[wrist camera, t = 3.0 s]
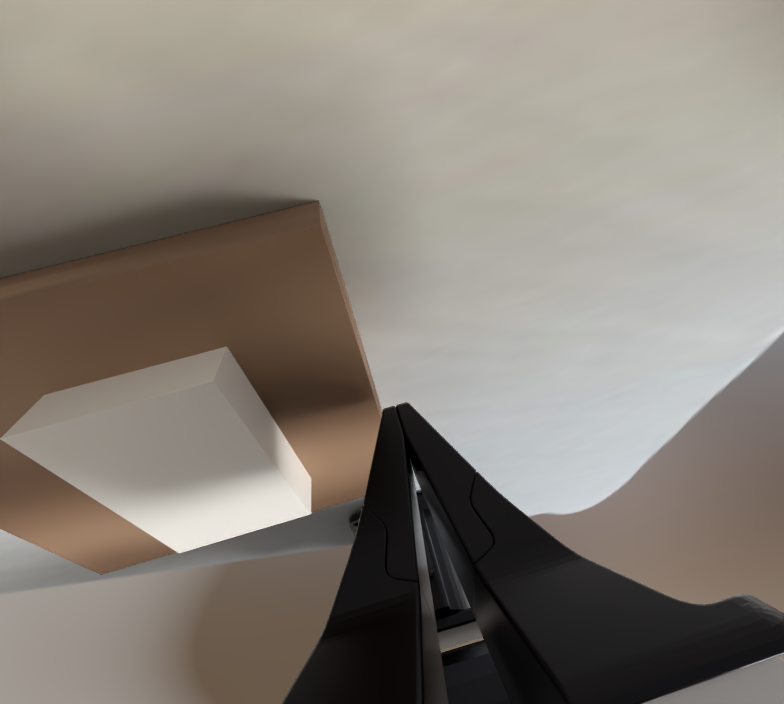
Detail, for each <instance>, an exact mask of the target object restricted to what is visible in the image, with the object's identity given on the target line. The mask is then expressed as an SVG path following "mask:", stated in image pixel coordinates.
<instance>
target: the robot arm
mask: <svg viewBox="0 0 784 704" xmlns="http://www.w3.org/2000/svg"><path fill="white" fill-rule="evenodd" d="M411 464H412V465H411ZM412 468H413V470H412ZM413 471H414V473H415V476H416V478H417V481H418V483H419V485H420V488H421V490H422V493H423V495H419V496H417V494H416V488H415V481H414V475H413ZM363 505H364V506H362V510H361V513H359V514H356V515H353V516H351V517H350V518H349V523H350V527H351V529H352V531H353V532H354V534H355V539H354V543H353V546H352V549H351V553H350V556H349V559H348V562H347V565H346V568H345V571H344V574H343V577H342V580H341V583H340V586H339V589H338V592H337V595H336V598H335V601H334V604H333V607H332V610H331V612H330V615H329V618H328V621H327V623H326V625H325V628H324V630H323V632H322V635H321V637H320V639H319V641H318V643H317V644H316V646H315V648H314V650H313V651H312V653H311V655H310V656H309V658H308V660H307V661H306V663H305V665H304V666H303V668H302V670H301V671H300V673H299V675H298V677H297V678H296V680H295V682H294V683H293V685H292V687H291V688H290V690H289V692H288V693H287V695H286V697H285V699H284V700H283V702H282V703H281V704H784V661H783V659H782V658H781V657H780V655H783V654H784V613H782V612H781V611H779V610H778V609H776V608H774V607H772V606H770V605H768V604H767V603H765V602H763V601H761V600H759V599H757V598H755V597H754V596H751V595H748V594H745V595H737V596H734V597H731V598H727V599H724V600H721V601H718V602H715V603H712V604H705V605H703V604H692V603H688V602H684V601H680V600H677V599H675V598H672V597H670V596H667V595H664V594H663V593H660V592H658V591H656V590H654V589H652V588H650V587H647V586H645V585H643V584H641V583H638V582H636V581H634V580H632V579H630V578H627V577H625V576H623V575H621V574H619V573H616V572H614V571H612V570H610V569H608V568H606V567H603V566H601V565H599V564H597V563H595V562H593V561H590V560H588V559H586V558H584V557H582V556H581V555H579V554H577V553H575V552H574V551H572V550H570V549H569V548H568V547H566V546H565V545H564V544H562V543H561V542H560V541H558V540H557V539H555V538H554V537H553V536H552V535H551V534H549V533H548V532H547V531H545V530H544V529H543V528H542V527H541V526H539V525H538V524H537V523H535V522H534V521H533V520H532V519H531V518H529V517H528V516H527V515H525V514H524V513H523V512H522V511H520V510H519V509H518V508H517V507H516V506H514V505H513V504H512V503H511V502H510V501H508V500H507V499H506V498H505V497H504V496H502V495H501V494H500V493H499V492H498V491H497V490H496V489H495V488H494V487H493V486H492V485H491V484H489V483H488V482H487V481H486V480H485V479H484V478H483V477H482V476H481V475H480V474H479V473H478V472H476V470H475V469H474V468H473V467H472V466H471V465H470V464H469V463H468V462H467V461H466V460H465V459H464V458H463V457H462V456H461V455H460V454H459V453H458V452H457V451H456V450H455V449H454V448H453V447H452V446H451V445H450V444H449V443H448V442H447V441H446V440H445V439H444V438H443V437H442V436H441V435H440V434H439V433H438V432H437V431H436V430H435V429H434V428H433V427H432V426H431V425H430V424H429V423H428V422H427V421H426V420H425V419H424V418H423V417H422V416H421V415H420V414H419V413H418V412H417V411H416V410H415V409H414V408H413V407H412V406H411V405H410V404H409V403H407V402H406V403H402V404H399V405H397V406H396V407H395V406H391V407H388V408H385V409H383V412H382V417H381V421H380V426H379V431H378V436H377V440H376V445H375V450H374V454H373V459H372V464H371V468H370V473H369V478H368V483H367V487H366V492H365V497H364V501H363ZM467 600H468V601H467ZM468 603H469V604H468ZM469 605H470V607H471V608H470V607H469ZM481 637H483V639H484V640H482V641H479V642H475V643H472V644H469V645H466V646H462V647H459V648H456V649H452V650H450V651H446V652H443V653H441V651H440V650H442V649H445V648H448V647H452V646H455V645H458V644H462V643H465V642H468V641H471V640H475V639H478V638H481Z"/></svg>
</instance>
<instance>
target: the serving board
mask: <svg viewBox="0 0 784 704" xmlns="http://www.w3.org/2000/svg"><path fill="white" fill-rule="evenodd" d="M223 347H228V349H229V350H230V352H231V354H232V355H233V357H234V358H235V360H236V361H237V363H238V364H239V366H240V368H241V369H242V371H243V372H244V374H245V375H246V377H247V379H248V380H249V382H250V383H251V385H252V386H253V388H254V390H255V391H256V393H257V394H258V396H259V397H260V399H261V400H262V402H263V404H264V405H265V407H266V408H267V410H268V411H269V413H270V415H271V416H272V418H273V419H274V421H275V422H276V424H277V426H278V427H279V429H280V430H281V432H282V433H283V435H284V436H285V438H286V440H287V441H288V443H289V444H290V446H291V447H292V449H293V451H294V452H295V454H296V455H297V457H298V458H299V460H300V461H301V463H302V465H303V466H304V468H305V469H306V471H307V472H308V474H309V476H310V477H311V512H314V511H317V510H321V509H324V508H327V507H331V506H334V505H337V504H341V503H344V502H347V501H351V500H354V499H358V498H361V497H364V496H365V492H366V487H367V483H368V478H369V473H370V468H371V464H372V459H373V454H374V450H375V445H376V440H377V436H378V431H379V426H380V421H381V417H382V409H381V405H380V402H379V399H378V395H377V392H376V389H375V385H374V382H373V379H372V375H371V372H370V369H369V365H368V362H367V359H366V355H365V352H364V349H363V345H362V342H361V339H360V336H359V332H358V329H357V326H356V322H355V319H354V316H353V312H352V309H351V306H350V302H349V299H348V296H347V292H346V289H345V286H344V282H343V279H342V276H341V272H340V269H339V266H338V262H337V259H336V256H335V253H334V249H333V246H332V243H331V239H330V236H329V233H328V229H327V226H326V223H325V219H324V216H323V213H322V209H321V206H320V203H319V201H316V202H312V203H308V204H303V205H299V206H295V207H291V208H287V209H283V210H279V211H275V212H271V213H267V214H263V215H258V216H254V217H250V218H246V219H242V220H238V221H234V222H230V223H226V224H222V225H218V226H213V227H209V228H205V229H201V230H197V231H193V232H189V233H185V234H181V235H177V236H173V237H168V238H164V239H160V240H156V241H152V242H148V243H144V244H140V245H136V246H132V247H127V248H123V249H119V250H115V251H111V252H107V253H103V254H99V255H95V256H91V257H87V258H82V259H78V260H74V261H70V262H66V263H62V264H58V265H54V266H50V267H46V268H42V269H37V270H33V271H29V272H25V273H21V274H17V275H13V276H9V277H5V278H1V279H0V438H1V437H2V436H3V435H4V434H5V433H6V432H7V431H8V430H9V429H10V428H11V427H12V426H13V425H14V424H15V423H16V422H17V421H18V420H19V419H20V418H21V417H23V416H24V415H25V414H26V413H27V412H28V411H29V410H30V409H31V408H32V407H33V406H34V405H35V404H36V403H37V402H38V401H39V400H40V399H41V398H42V397H43V396H44V395H46V394H49V393H53V392H57V391H61V390H65V389H68V388H72V387H76V386H80V385H83V384H87V383H91V382H95V381H98V380H102V379H106V378H110V377H114V376H117V375H121V374H125V373H129V372H132V371H136V370H140V369H144V368H148V367H151V366H155V365H159V364H163V363H166V362H170V361H174V360H178V359H181V358H185V357H189V356H193V355H197V354H200V353H204V352H208V351H212V350H215V349H219V348H223ZM0 529H2V530H4V531H6V532H8V533H11V534H13V535H15V536H17V537H19V538H22V539H24V540H26V541H28V542H30V543H33V544H35V545H37V546H39V547H41V548H44V549H46V550H48V551H50V552H52V553H55V554H57V555H59V556H61V557H63V558H66V559H68V560H70V561H72V562H74V563H77V564H79V565H81V566H83V567H85V568H88V569H90V570H92V571H94V572H96V573H99V574H101V575H102V574H105V573H108V572H112V571H115V570H119V569H122V568H125V567H129V566H132V565H135V564H139V563H142V562H145V561H149V560H152V559H156V558H159V557H162V556H166V555H169V554H172V553H176V551H174V550H173V549H171V548H170V547H168V546H167V545H165V544H163V543H162V542H160V541H159V540H157V539H156V538H154V537H153V536H151V535H149V534H148V533H146V532H145V531H143V530H142V529H140V528H138V527H137V526H135V525H134V524H132V523H131V522H129V521H128V520H126V519H124V518H123V517H121V516H120V515H118V514H117V513H115V512H113V511H112V510H110V509H109V508H107V507H106V506H104V505H102V504H101V503H99V502H98V501H96V500H95V499H93V498H92V497H90V496H88V495H87V494H85V493H84V492H82V491H81V490H79V489H77V488H76V487H74V486H73V485H71V484H70V483H68V482H66V481H65V480H63V479H62V478H60V477H59V476H57V475H56V474H54V473H52V472H51V471H49V470H48V469H46V468H45V467H43V466H41V465H40V464H38V463H37V462H35V461H34V460H32V459H31V458H29V457H27V456H26V455H24V454H23V453H21V452H20V451H18V450H16V449H15V448H13V447H12V446H10V445H9V444H7V443H5V442H4V441H2V440H1V439H0Z"/></svg>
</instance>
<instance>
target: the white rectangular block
mask: <svg viewBox="0 0 784 704" xmlns="http://www.w3.org/2000/svg"><path fill="white" fill-rule="evenodd" d="M0 439H1V440H2V441H4V442H5V443H7V444H9V445H10V446H12V447H13V448H15V449H16V450H18V451H20V452H21V453H23V454H24V455H26V456H27V457H29V458H31V459H32V460H34V461H35V462H37V463H38V464H40V465H41V466H43V467H45V468H46V469H48V470H49V471H51V472H52V473H54V474H56V475H57V476H59V477H60V478H62V479H63V480H65V481H66V482H68V483H70V484H71V485H73V486H74V487H76V488H77V489H79V490H81V491H82V492H84V493H85V494H87V495H88V496H90V497H92V498H93V499H95V500H96V501H98V502H99V503H101V504H102V505H104V506H106V507H107V508H109V509H110V510H112V511H113V512H115V513H117V514H118V515H120V516H121V517H123V518H124V519H126V520H128V521H129V522H131V523H132V524H134V525H135V526H137V527H138V528H140V529H142V530H143V531H145V532H146V533H148V534H149V535H151V536H153V537H154V538H156V539H157V540H159V541H160V542H162V543H163V544H165V545H167V546H168V547H170V548H171V549H173V550H174V551H176V552H178V553H182V552H186V551H189V550H192V549H196V548H199V547H202V546H206V545H209V544H212V543H216V542H219V541H222V540H226V539H229V538H233V537H236V536H239V535H243V534H246V533H249V532H253V531H256V530H259V529H263V528H266V527H270V526H273V525H276V524H280V523H283V522H286V521H290V520H293V519H296V518H300V517H303V516H307V515H310V514H311V477H310V476H309V474H308V472H307V471H306V469H305V468H304V466H303V465H302V463H301V461H300V460H299V458H298V457H297V455H296V454H295V452H294V451H293V449H292V447H291V446H290V444H289V443H288V441H287V440H286V438H285V436H284V435H283V433H282V432H281V430H280V429H279V427H278V426H277V424H276V422H275V421H274V419H273V418H272V416H271V415H270V413H269V411H268V410H267V408H266V407H265V405H264V404H263V402H262V400H261V399H260V397H259V396H258V394H257V393H256V391H255V390H254V388H253V386H252V385H251V383H250V382H249V380H248V379H247V377H246V375H245V374H244V372H243V371H242V369H241V368H240V366H239V364H238V363H237V361H236V360H235V358H234V357H233V355H232V354H231V352H230V350H229V349H228V347H223V348H219V349H215V350H212V351H208V352H204V353H200V354H197V355H193V356H189V357H185V358H181V359H178V360H174V361H170V362H166V363H163V364H159V365H155V366H151V367H148V368H144V369H140V370H136V371H132V372H129V373H125V374H121V375H117V376H114V377H110V378H106V379H102V380H98V381H95V382H91V383H87V384H83V385H80V386H76V387H72V388H68V389H65V390H61V391H57V392H53V393H49V394H46V395H44V396H43V397H42V398H41V399H40V400H39V401H38V402H37V403H36V404H35V405H34V406H33V407H32V408H31V409H30V410H29V411H28V412H27V413H26V414H25V415H24V416H23V417H21V418H20V419H19V420H18V421H17V422H16V423H15V424H14V425H13V426H12V427H11V428H10V429H9V430H8V431H7V432H6V433H5V434H4V435H3V436H2V437H1V438H0Z"/></svg>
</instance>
